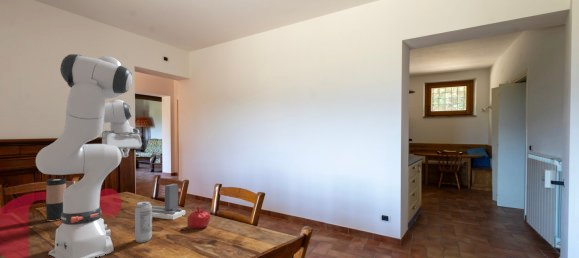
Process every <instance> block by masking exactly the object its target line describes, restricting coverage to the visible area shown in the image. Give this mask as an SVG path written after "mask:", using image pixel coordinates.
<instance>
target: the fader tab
mask: <svg viewBox="0 0 579 258" xmlns="http://www.w3.org/2000/svg"><path fill="white" fill-rule="evenodd" d="M164 207H165V210H166V211H175V212H176V211H178V207H179V184H178V183H171V184H167V185H164Z"/></svg>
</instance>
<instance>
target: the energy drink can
mask: <svg viewBox="0 0 579 258" xmlns="http://www.w3.org/2000/svg"><path fill="white" fill-rule="evenodd" d="M152 206H153V205H152V204H151V201H149V200H148V201H147V200H146V201H139V202H137V203H136V205H135V207H134V240H135V241H136V243H140V244H141V243H146V242H149V241H151V238H152V235H153V217H152Z"/></svg>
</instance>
